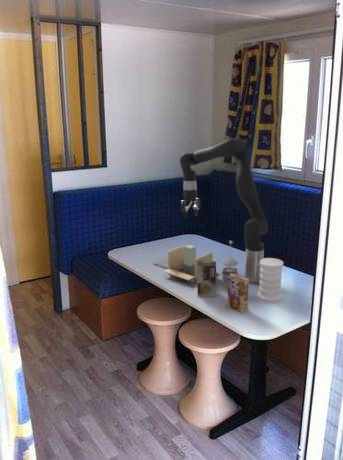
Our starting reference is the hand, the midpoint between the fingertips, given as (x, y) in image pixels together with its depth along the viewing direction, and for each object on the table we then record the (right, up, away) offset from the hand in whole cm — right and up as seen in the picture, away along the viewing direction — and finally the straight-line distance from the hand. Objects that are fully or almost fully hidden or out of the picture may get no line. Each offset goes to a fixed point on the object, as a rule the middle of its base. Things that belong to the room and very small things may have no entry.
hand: (191, 217), depth 253 cm
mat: (-13, -27, +4) cm, 30 cm away
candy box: (+19, -43, -50) cm, 69 cm away
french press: (+18, -37, -29) cm, 50 cm away
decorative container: (+36, -40, -39) cm, 66 cm away
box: (-1, -31, -11) cm, 33 cm away
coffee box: (+6, -39, -35) cm, 53 cm away
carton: (-1, -31, -11) cm, 33 cm away
